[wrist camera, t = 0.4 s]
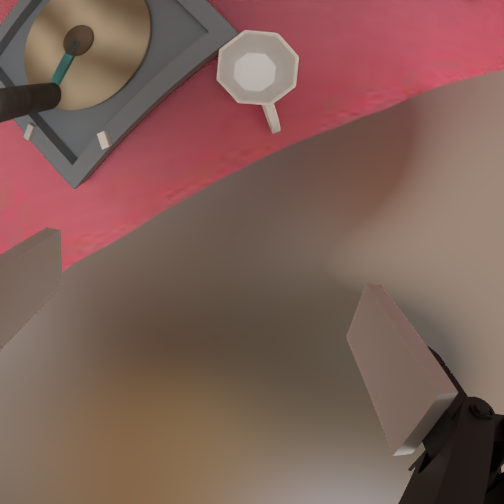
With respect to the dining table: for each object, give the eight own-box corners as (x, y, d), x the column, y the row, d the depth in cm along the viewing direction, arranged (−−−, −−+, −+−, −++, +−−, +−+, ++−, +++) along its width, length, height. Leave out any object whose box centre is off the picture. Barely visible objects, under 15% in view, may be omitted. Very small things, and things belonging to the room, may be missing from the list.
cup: (276, 35, 27) (286, 19, 20) (303, 119, 32) (320, 128, 25) (211, 53, 28) (203, 42, 21) (241, 137, 33) (241, 150, 26)
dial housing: (113, -73, 18) (101, -85, 14) (239, 39, 28) (238, 32, 24) (-10, 66, 25) (-30, 67, 21) (86, 180, 34) (71, 191, 31)
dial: (76, -35, 19) (14, -67, 8) (182, 9, 24) (148, -33, 13) (8, 83, 25) (-66, 97, 14) (98, 138, 30) (33, 169, 19)
